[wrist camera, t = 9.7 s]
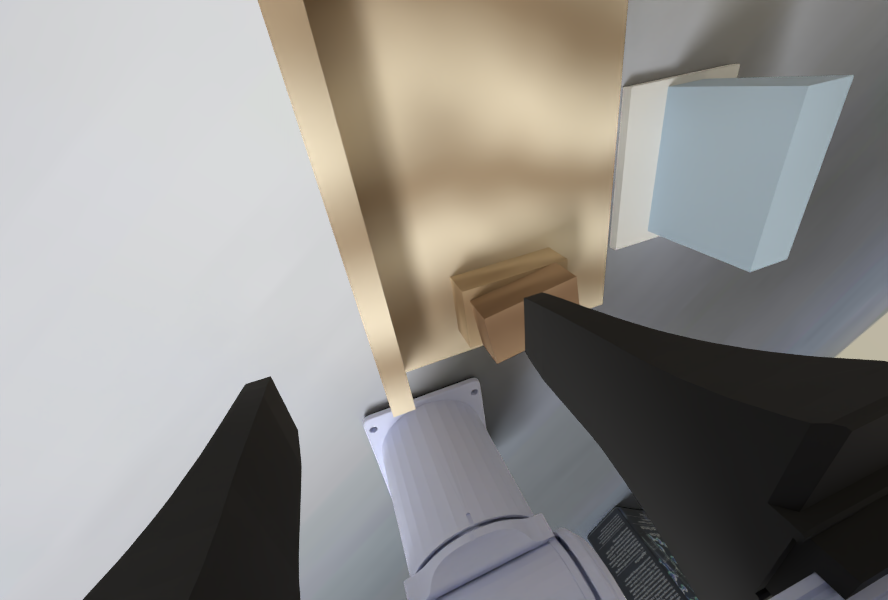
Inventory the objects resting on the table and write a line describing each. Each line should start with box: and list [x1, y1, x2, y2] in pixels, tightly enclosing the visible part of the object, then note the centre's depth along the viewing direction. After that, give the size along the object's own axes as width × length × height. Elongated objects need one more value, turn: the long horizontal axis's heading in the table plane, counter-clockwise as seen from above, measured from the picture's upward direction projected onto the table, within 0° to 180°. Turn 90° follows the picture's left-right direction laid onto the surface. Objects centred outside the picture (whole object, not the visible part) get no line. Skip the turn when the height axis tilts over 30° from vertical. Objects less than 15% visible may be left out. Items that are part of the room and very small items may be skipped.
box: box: [588, 507, 698, 600], centre depth 41 cm, size 8×6×11 cm
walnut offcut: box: [470, 262, 580, 364], centre depth 20 cm, size 3×5×2 cm, turn 107°
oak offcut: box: [450, 247, 568, 348], centre depth 21 cm, size 4×6×2 cm, turn 99°
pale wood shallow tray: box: [258, 0, 628, 417], centre depth 17 cm, size 19×15×5 cm
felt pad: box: [609, 64, 740, 250], centre depth 22 cm, size 9×7×1 cm
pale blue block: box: [648, 75, 854, 272], centre depth 19 cm, size 8×2×6 cm, turn 9°
